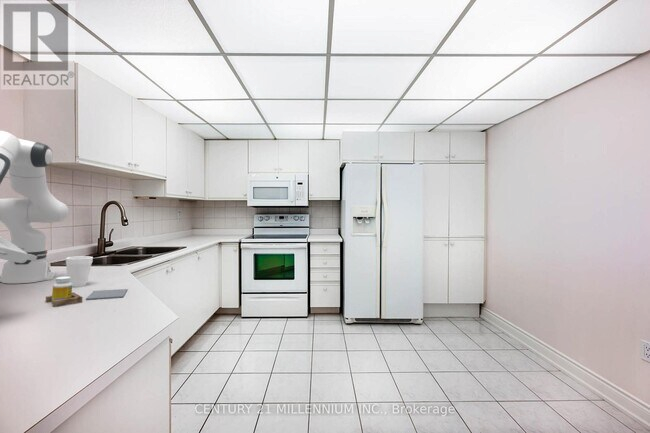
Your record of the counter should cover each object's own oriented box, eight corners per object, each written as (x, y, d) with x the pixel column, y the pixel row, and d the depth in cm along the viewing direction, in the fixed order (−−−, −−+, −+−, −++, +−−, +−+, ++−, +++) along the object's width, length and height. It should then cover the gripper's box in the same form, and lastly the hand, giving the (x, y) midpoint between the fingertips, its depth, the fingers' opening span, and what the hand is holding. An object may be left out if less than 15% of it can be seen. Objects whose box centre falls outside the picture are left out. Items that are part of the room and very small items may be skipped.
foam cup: (87, 281, 131) (90, 255, 132) (93, 285, 126) (95, 258, 126) (61, 284, 124) (63, 257, 124) (65, 288, 118) (68, 259, 119)
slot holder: (53, 307, 96) (54, 301, 96) (45, 301, 101) (45, 296, 101) (82, 302, 103) (82, 297, 103) (73, 297, 108) (73, 292, 108)
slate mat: (93, 292, 116) (93, 290, 116) (127, 290, 122) (127, 288, 122) (85, 300, 106) (86, 298, 106) (122, 297, 112) (123, 296, 112)
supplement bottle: (52, 301, 102) (54, 276, 102) (71, 299, 105) (73, 275, 106) (50, 305, 98) (52, 279, 98) (70, 303, 101) (72, 278, 101)
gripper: (-4, 240, 80) (49, 254, 92) (-29, 224, 88) (23, 238, 100) (-21, 259, 78) (36, 271, 90) (-44, 240, 86) (10, 254, 98)
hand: (29, 254), depth 95 cm, fingers open, 8 cm apart
